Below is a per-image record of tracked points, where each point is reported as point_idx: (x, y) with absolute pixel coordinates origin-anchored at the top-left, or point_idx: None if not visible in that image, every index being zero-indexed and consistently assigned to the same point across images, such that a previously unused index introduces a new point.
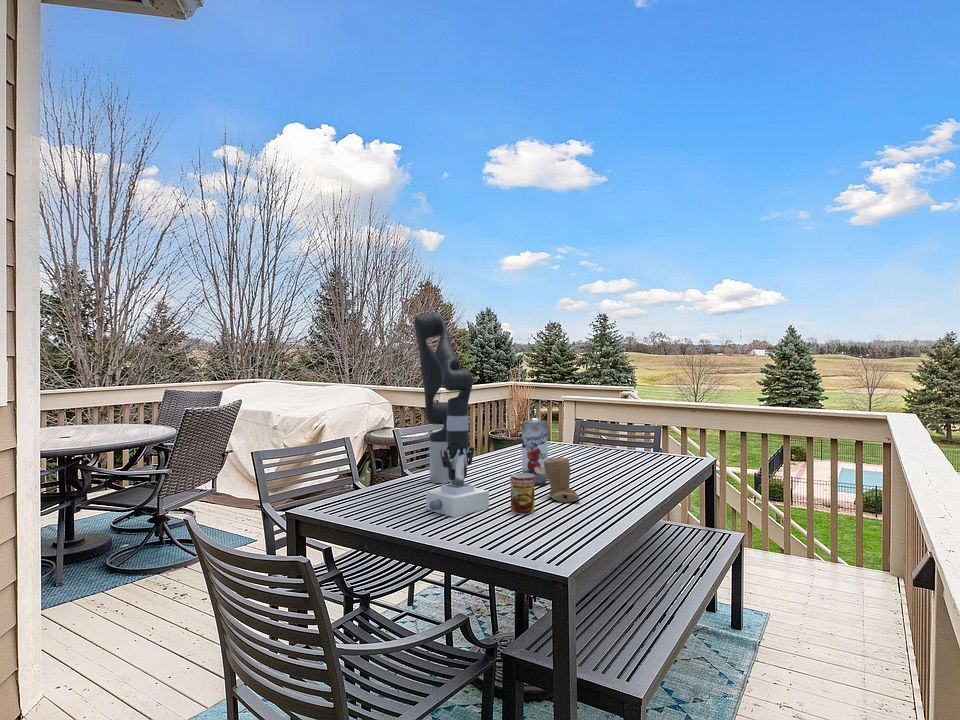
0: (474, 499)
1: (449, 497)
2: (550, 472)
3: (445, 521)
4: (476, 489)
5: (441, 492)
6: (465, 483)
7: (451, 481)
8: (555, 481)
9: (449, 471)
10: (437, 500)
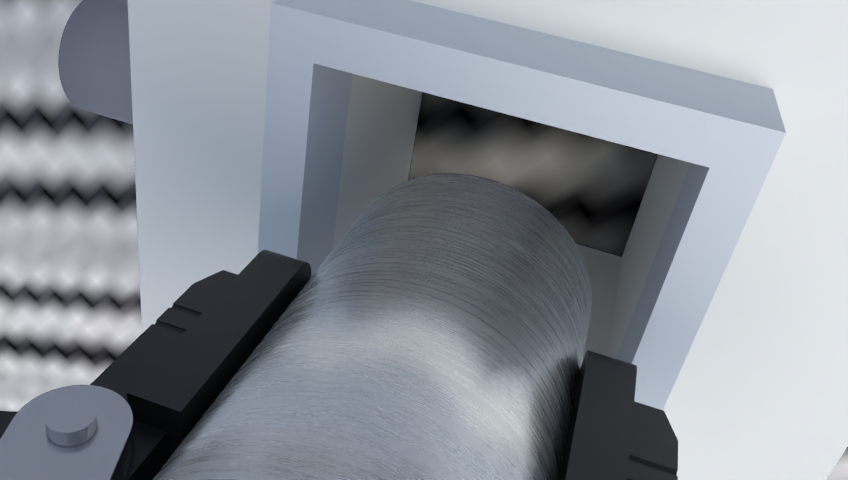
0: None
1: (146, 305)
2: None
3: (125, 256)
4: (768, 419)
5: (256, 50)
6: (695, 327)
7: (340, 240)
8: None
9: (124, 385)
10: (130, 102)
